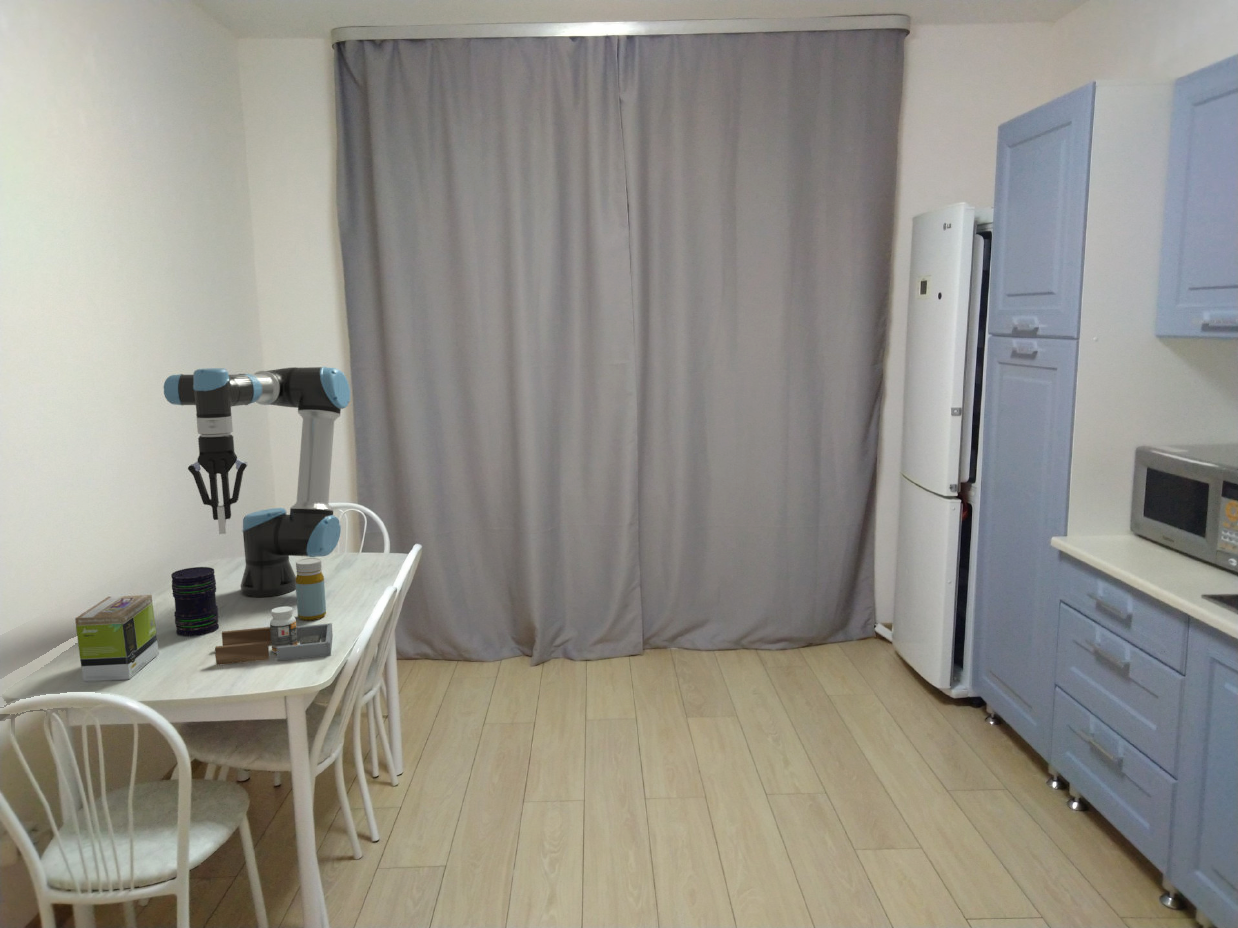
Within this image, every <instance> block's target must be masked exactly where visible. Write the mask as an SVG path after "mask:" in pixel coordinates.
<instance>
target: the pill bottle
mask: <svg viewBox="0 0 1238 928" xmlns="http://www.w3.org/2000/svg"><path fill="white" fill-rule="evenodd" d="M270 614H271V617H272V618H271V620H270V621H269V627H270V632H271V652H273V653H275V654H277V647H279V646H289V645H299V644H298V640H297V629H296V627H297V619H296V618H295V616H293V615H294V610H293V607H292V606H278V607H275V608H272V609H271V613H270Z"/></svg>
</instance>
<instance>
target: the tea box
mask: <svg viewBox="0 0 1238 928" xmlns="http://www.w3.org/2000/svg"><path fill="white" fill-rule="evenodd" d="M153 604H154V603H153V595H152V594H144V595H143V594H142V595H124V596H122V595H120V596H107V597H105V598H103V600H101V601H100V602H97V604H94V606H92V607H90V608H88V610H86V611H83V613H81V614H80V615H78V616H77V617H75V618H74V619H75V620H74V621H75V631H76V636H77V645H78V651H79V652H78V653H79V659H80V666H81V669H80V671H81V676H82V681H83V682H85V683H86V682H109V681H111V682H112V681H123V680H124V681H125V680H131V678H132V677H133V676H135V674H138V672H139V671H141V669H143V668H144V667H145V666H146V665H148V664H149V663H150V662H151V661H152V660H153V659H154V658H156V657H157V656H158V655H159V645H158V644H159V643H158V638H157V628H156V620H155V619H156V618H155V611H154V605H153Z"/></svg>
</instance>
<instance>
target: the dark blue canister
mask: <svg viewBox="0 0 1238 928" xmlns="http://www.w3.org/2000/svg"><path fill="white" fill-rule="evenodd" d="M170 576H171V579H172V580H171V589H172V598H174V599H173V600H174V608H175V611H174V613H173V614H174V624H175V628H176V634H177V636H180V637H184V638H185V637H186V638H187V637H188V638H189V637H190V638H191V637H194V638H195V637H199V636H206V635H210V634H212V633H215V632H216V631H217V630H219V628H220V625H219V617H220V616H219V608H218V605H217V600H216V599H217V597H216V592H217V583H216V575H215V569H214V568H212V567H208V566H197V567H188V568H182V569H178V570H176V571H173V572H172V573H171V575H170Z"/></svg>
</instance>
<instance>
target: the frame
mask: <svg viewBox="0 0 1238 928" xmlns="http://www.w3.org/2000/svg"><path fill="white" fill-rule="evenodd" d="M296 629H297V641H298V640H299V641H301V638H302V637H305V636H317V635H320V638H325V641H320V642H318V643H308V644H300V643H299V644H298V645H289V646H279V647H277V653H276V654H277V655H276V657H277V661H278V662H279V661H280V662H281V661H288V660H289V661H290V660H298V659H299V660H300V659H306V658H307V659H308V658H316V657H317V658H318V657H325V656H326V657H327V656H332V647H333V636H334V635H333V623H332V622H329V623H320V624H311V625H300V626H299V625H298V626H296Z"/></svg>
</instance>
